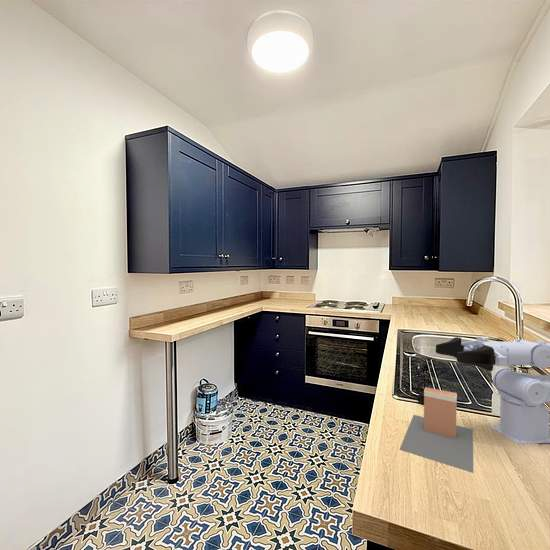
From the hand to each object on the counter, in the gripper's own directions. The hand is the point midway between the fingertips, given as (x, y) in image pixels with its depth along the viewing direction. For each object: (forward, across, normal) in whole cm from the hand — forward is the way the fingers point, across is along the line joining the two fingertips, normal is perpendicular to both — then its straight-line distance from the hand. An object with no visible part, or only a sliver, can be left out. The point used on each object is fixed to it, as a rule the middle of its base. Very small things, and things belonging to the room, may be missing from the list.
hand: (446, 352), depth 72 cm
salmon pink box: (-1, -3, +21) cm, 21 cm away
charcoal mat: (+2, 0, +21) cm, 21 cm away
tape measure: (-8, -18, +21) cm, 29 cm away
